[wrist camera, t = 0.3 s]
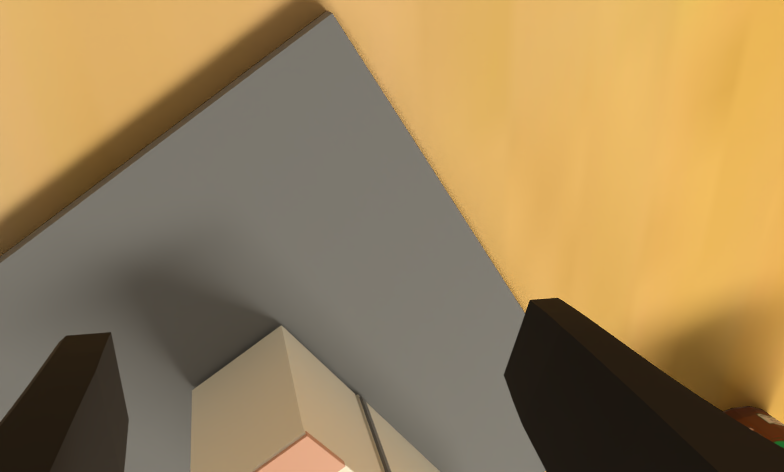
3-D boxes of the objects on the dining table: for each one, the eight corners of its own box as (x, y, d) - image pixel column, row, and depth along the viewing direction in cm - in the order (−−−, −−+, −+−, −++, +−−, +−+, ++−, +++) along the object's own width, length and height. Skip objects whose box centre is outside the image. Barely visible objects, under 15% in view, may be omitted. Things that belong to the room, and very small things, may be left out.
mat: (308, 621, 31) (310, 636, 31) (-175, 388, 17) (-190, 405, 17) (592, 421, 31) (600, 431, 30) (327, 10, 17) (332, 13, 16)
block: (275, 451, 23) (293, 575, 19) (191, 390, 20) (188, 518, 16) (355, 393, 23) (393, 503, 18) (281, 324, 20) (305, 434, 16)
